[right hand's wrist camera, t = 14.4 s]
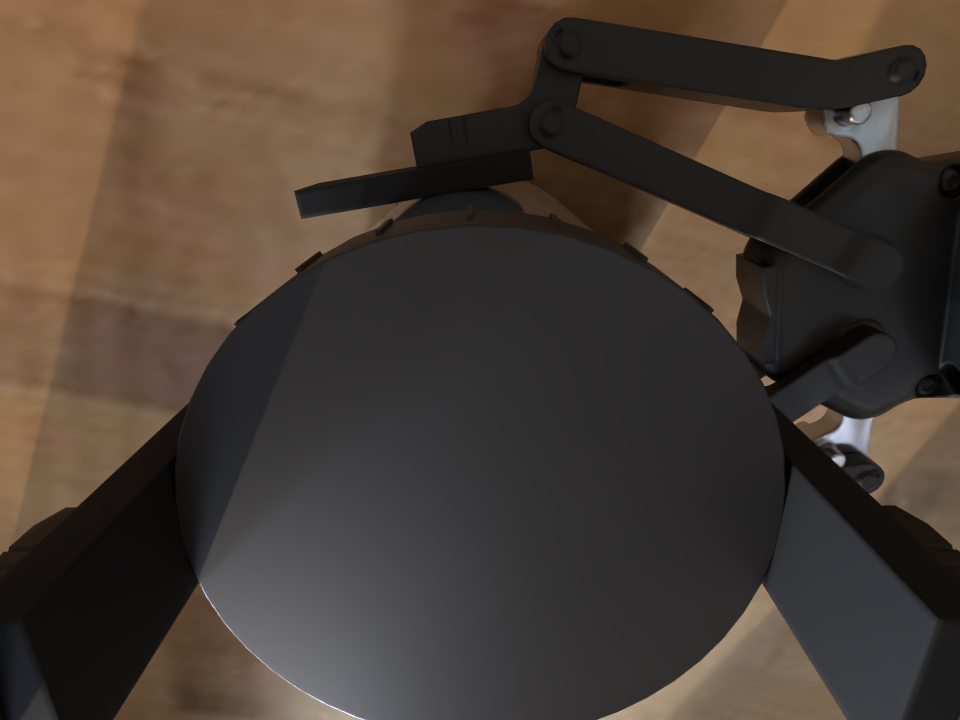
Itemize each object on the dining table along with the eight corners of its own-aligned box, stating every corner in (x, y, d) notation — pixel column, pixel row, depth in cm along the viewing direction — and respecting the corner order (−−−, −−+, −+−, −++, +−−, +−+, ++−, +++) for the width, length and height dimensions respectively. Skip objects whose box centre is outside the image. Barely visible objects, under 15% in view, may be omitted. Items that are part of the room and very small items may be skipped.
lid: (103, 442, 12) (41, 494, 10) (528, 65, 9) (538, 51, 8) (449, 733, 15) (446, 809, 13) (840, 506, 12) (896, 565, 11)
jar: (459, 115, 23) (426, 88, 8) (649, 279, 25) (872, 473, 11) (313, 314, 26) (107, 542, 11) (496, 445, 28) (513, 769, 14)
